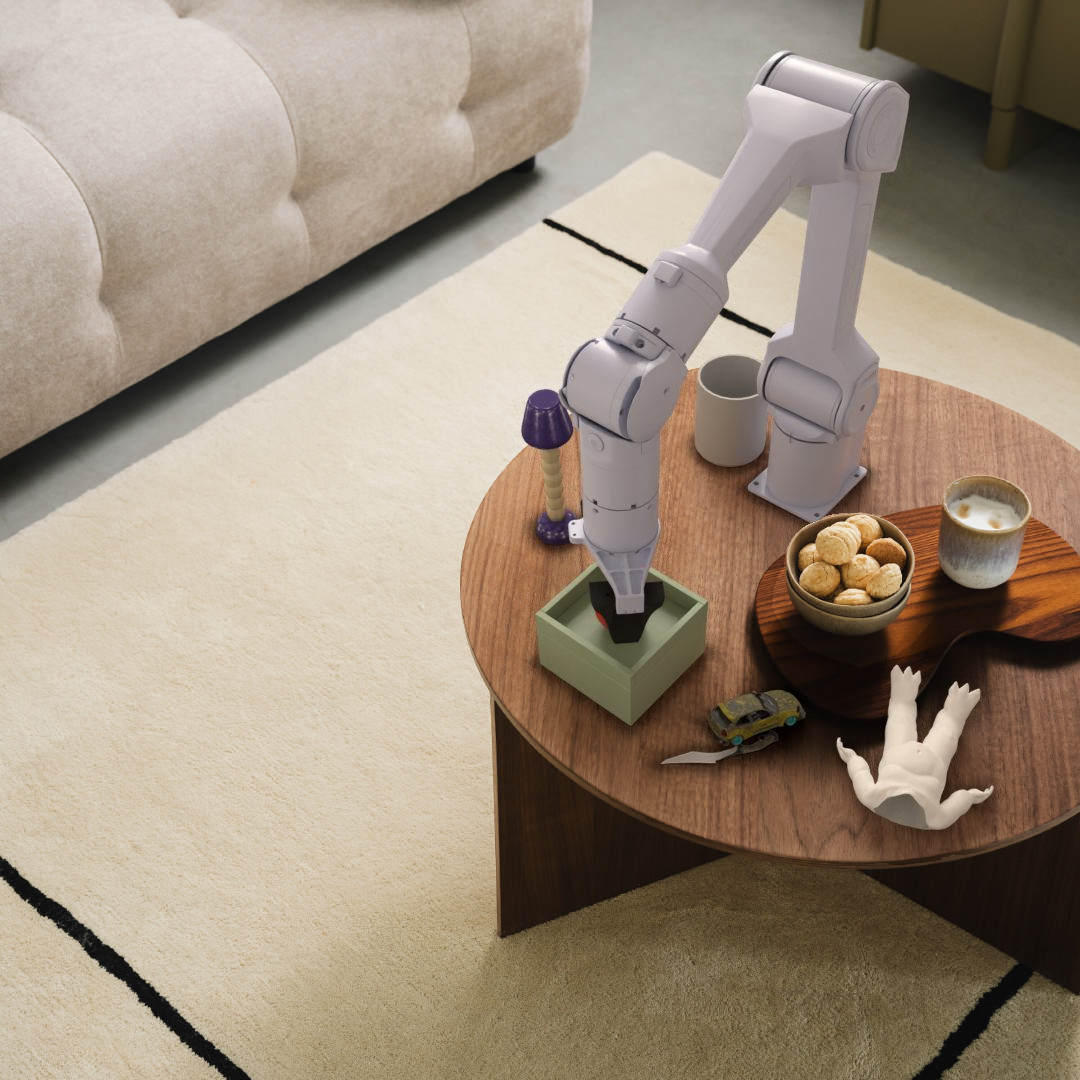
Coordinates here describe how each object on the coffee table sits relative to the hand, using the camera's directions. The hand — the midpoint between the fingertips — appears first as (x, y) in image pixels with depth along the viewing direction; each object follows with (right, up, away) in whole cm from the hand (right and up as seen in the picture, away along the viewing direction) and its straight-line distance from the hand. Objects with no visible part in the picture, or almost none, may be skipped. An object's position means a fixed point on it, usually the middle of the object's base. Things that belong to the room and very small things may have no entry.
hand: (621, 603), depth 95 cm
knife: (+9, -10, 0) cm, 13 cm away
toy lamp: (-5, +6, +17) cm, 18 cm away
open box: (0, -5, +5) cm, 7 cm away
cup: (+13, +16, +25) cm, 32 cm away
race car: (+11, -10, 0) cm, 15 cm away
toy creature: (+25, -8, -1) cm, 26 cm away
